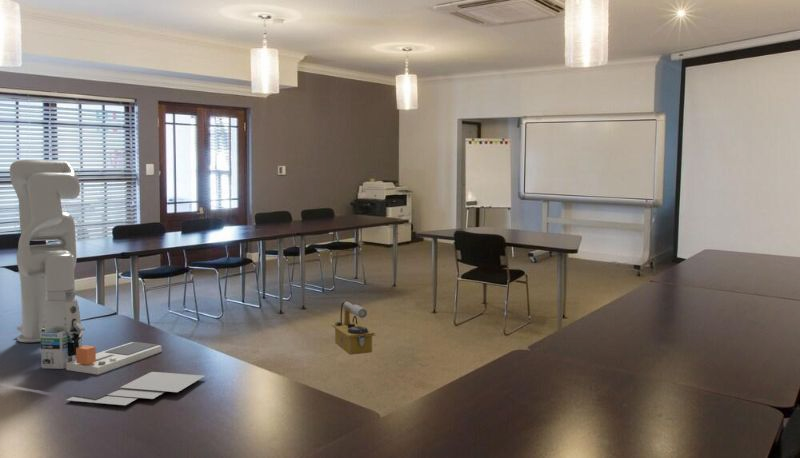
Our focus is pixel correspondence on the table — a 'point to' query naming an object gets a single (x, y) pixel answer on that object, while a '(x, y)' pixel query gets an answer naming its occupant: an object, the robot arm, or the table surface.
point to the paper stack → (145, 388)
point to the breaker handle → (85, 355)
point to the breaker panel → (116, 357)
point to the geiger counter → (353, 331)
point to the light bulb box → (55, 349)
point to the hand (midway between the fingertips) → (62, 353)
